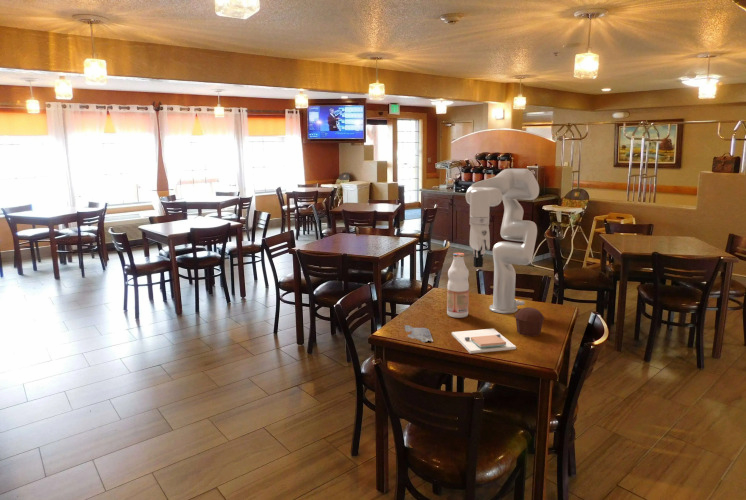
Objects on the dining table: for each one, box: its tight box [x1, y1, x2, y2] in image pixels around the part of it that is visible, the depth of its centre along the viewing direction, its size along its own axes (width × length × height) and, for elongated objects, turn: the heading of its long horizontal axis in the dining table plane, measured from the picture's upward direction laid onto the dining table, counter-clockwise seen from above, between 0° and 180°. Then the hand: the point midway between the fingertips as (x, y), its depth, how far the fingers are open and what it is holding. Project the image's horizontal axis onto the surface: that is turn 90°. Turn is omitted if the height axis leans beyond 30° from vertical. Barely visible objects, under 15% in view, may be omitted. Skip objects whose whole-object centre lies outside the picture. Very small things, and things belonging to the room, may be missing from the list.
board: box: [451, 328, 517, 354], centre depth 202 cm, size 18×20×2 cm
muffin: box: [514, 307, 546, 337], centre depth 210 cm, size 12×11×10 cm
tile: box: [471, 335, 506, 347], centre depth 197 cm, size 10×10×1 cm
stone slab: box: [404, 324, 434, 343], centre depth 210 cm, size 18×2×10 cm
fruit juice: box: [446, 252, 470, 319], centre depth 231 cm, size 9×9×28 cm
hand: (478, 266), depth 207 cm, fingers closed
